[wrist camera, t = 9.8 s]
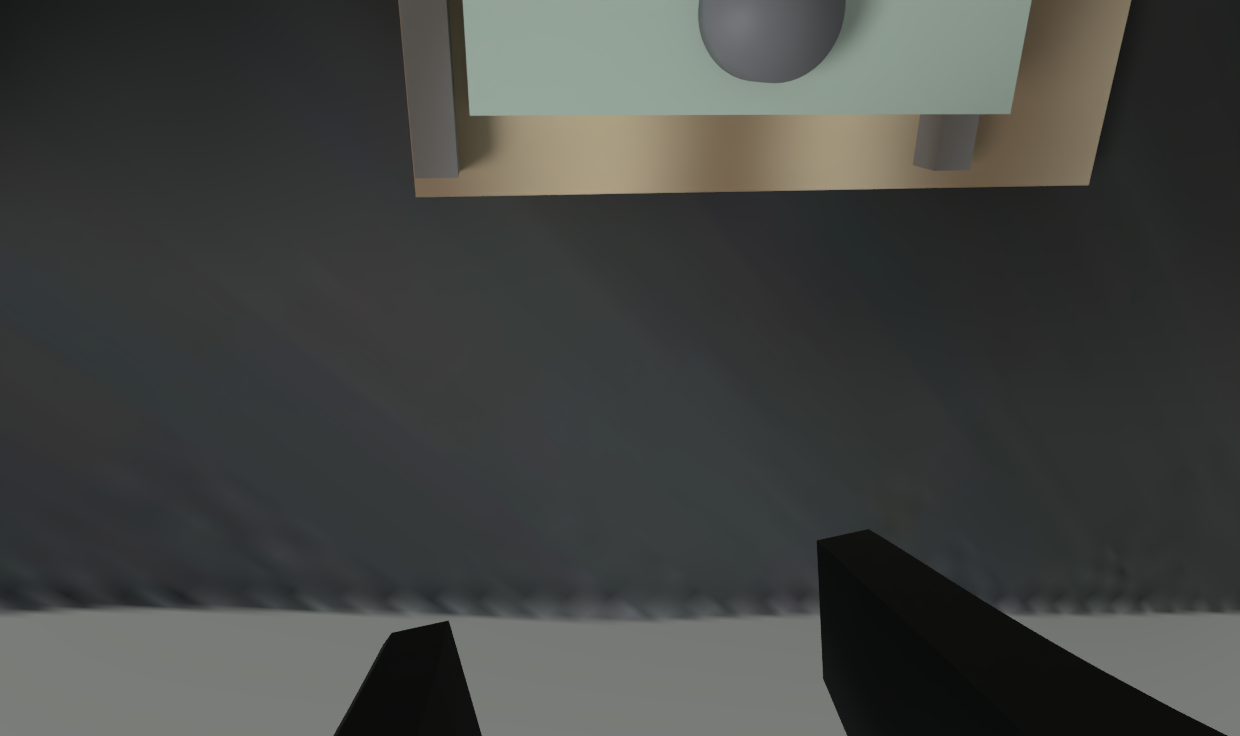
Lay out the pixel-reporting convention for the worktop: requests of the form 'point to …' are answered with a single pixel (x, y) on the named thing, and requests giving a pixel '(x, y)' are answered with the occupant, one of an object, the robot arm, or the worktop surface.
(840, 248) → the worktop surface
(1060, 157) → the oak jig
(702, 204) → the worktop surface
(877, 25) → the slider bar
